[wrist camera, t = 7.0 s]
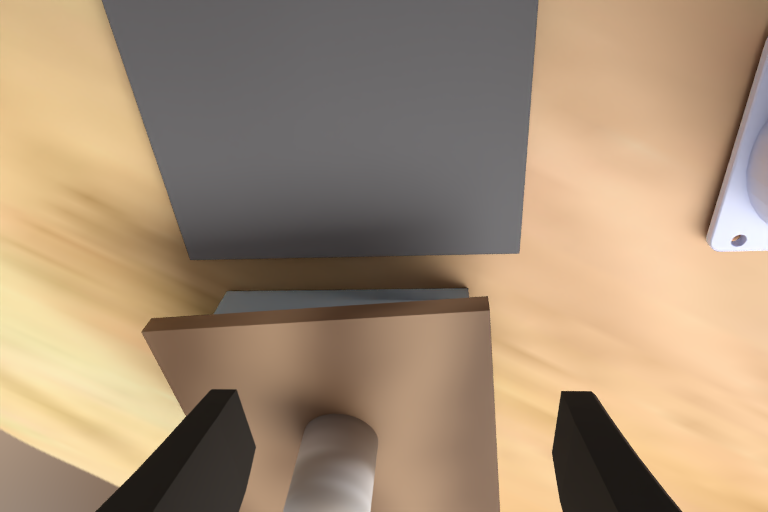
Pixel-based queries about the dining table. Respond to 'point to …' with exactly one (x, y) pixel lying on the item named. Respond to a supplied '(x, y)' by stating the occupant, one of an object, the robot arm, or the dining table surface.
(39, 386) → the dining table surface
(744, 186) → the robot arm
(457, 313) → the lid
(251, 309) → the light blue tray
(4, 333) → the dining table surface
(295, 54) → the mat
